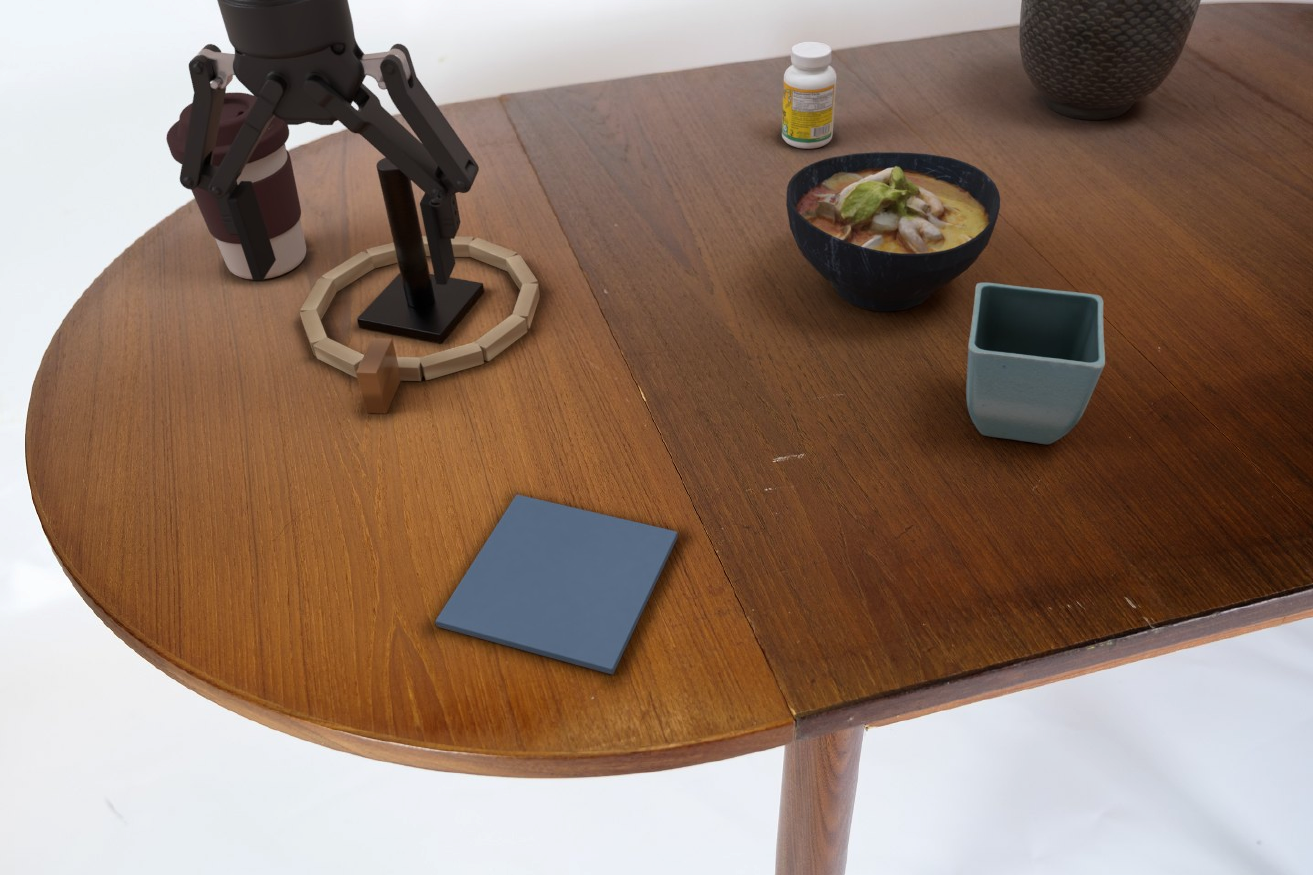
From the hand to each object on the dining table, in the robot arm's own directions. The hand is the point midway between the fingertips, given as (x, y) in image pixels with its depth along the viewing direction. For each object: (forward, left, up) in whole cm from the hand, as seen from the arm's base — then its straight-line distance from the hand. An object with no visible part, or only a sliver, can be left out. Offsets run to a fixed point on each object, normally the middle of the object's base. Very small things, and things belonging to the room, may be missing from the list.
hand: (354, 272), depth 82 cm
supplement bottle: (+51, -21, -12) cm, 57 cm away
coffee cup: (+14, +21, -12) cm, 28 cm away
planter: (+67, -48, -12) cm, 84 cm away
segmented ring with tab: (+9, +2, -11) cm, 15 cm away
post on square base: (+11, +3, -11) cm, 16 cm away
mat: (-14, -21, -11) cm, 28 cm away
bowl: (+26, -34, -12) cm, 45 cm away
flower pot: (+11, -47, -12) cm, 50 cm away
